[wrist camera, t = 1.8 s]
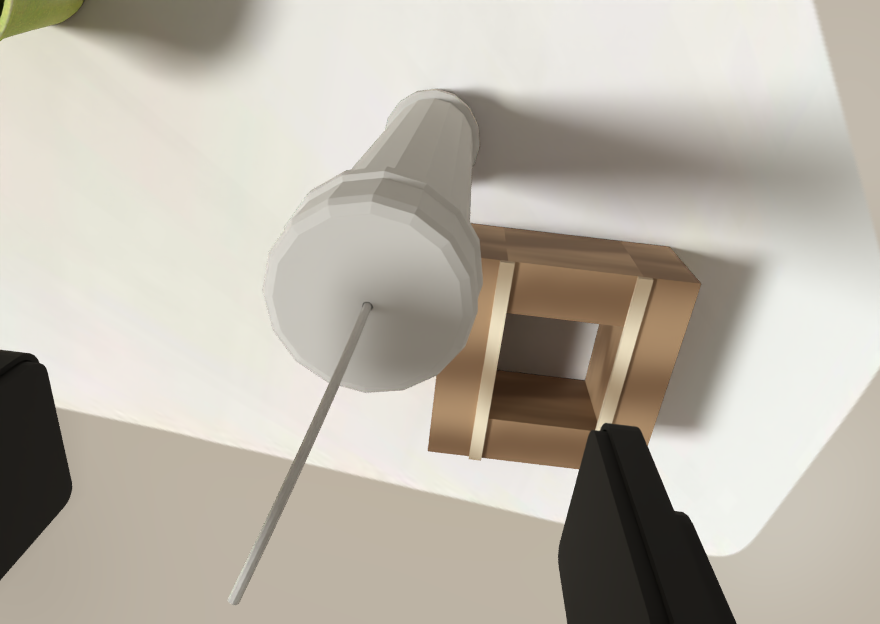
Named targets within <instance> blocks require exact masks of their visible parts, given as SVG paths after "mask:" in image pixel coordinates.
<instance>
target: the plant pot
mask: <svg viewBox="0 0 880 624" xmlns="http://www.w3.org/2000/svg"><path fill="white" fill-rule="evenodd" d="M83 1H84V0H0V41H1V40H2V39H4V38H7V37H10V36H13V35H17V34H20V33H24V32H27V31H31V30H35V29H39V28H43V27H47V26H50V25H54V24H58V23H61V22H63V21H65V20H66V19H68V18H69V17H71V16H72V15H73V14H74V13H76V12H77V11H78V10H79V8H80V7H81V5H82V3H83Z"/></svg>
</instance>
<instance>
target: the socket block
mask: <svg viewBox="0 0 880 624" xmlns="http://www.w3.org/2000/svg"><path fill="white" fill-rule="evenodd" d="M471 225H472V227H473V229H474V230H475V232H476V234H477V236H478V238H479V240H480V251H481V263H482V274H483V285H482V288H481V291H480V294H479V297H478V312H477V315H476V318H475V320H474V323H473V326H472V329H471V332H470V334H469V337H468V340H467V343H466V346H465V347H464V348H463V349H462V350H461V351H460V352H459V353H458V354H457V355H456V357H455V358H454V359H453V360H452V361H451V362H450V363H449V364H448V365H447V366H446V367H445V368H444V369H443V370H442V371H441V372H440V373H439V374H438V375H437V377H436V385H435V393H434V402H433V410H432V419H431V428H430V436H429V445H428V451H431V452H439V453H447V454H456V455H464V456H469V459H472V460H481V458H489V459H497V460H506V461H514V462H522V463H531V464H539V465H548V466H556V467H564V468H573V469H580V465H581V461H582V457H583V454H584V450H585V446H586V442H587V439H588V435H589V433H590V431H591V430H597V431H600V429H601V427H602V425H603V424H604V423H611V424H619V425H628V426H636V427H638V428H640V430H641V432H642V434H643V436H644V439H645V441H646V444H647V446H648V443H649V440H650V437H651V434H652V431H653V428H654V425H655V422H656V419H657V416H658V413H659V410H660V407H661V404H662V401H663V398H664V395H665V392H666V389H667V386H668V383H669V380H670V377H671V374H672V371H673V368H674V365H675V362H676V359H677V356H678V353H679V350H680V347H681V344H682V341H683V338H684V335H685V332H686V329H687V326H688V323H689V320H690V317H691V314H692V311H693V308H694V305H695V302H696V298H697V295H698V292H699V289H700V286H701V283H700V282H699V280H698V279H697V278H696V277H695V276H694V275H693V273H692V272H691V271H690V270H689V269H688V268H687V267H686V265H685V264H684V263H683V262H682V261H681V260H680V258H679V257H678V256H677V255H676V254H675V253H674V251H673V250H672V249H671V248H670V247H666V246H658V245H649V244H641V243H632V242H624V241H615V240H607V239H598V238H590V237H581V236H573V235H564V234H556V233H547V232H539V231H530V230H522V229H513V228H505V227H496V226H488V225H479V224H471ZM506 313H511V314H520V315H528V316H537V317H545V318H553V319H562V320H570V321H579V322H587V323H596V324H599V327H598V331H597V335H596V339H595V343H594V347H593V351H592V355H591V359H590V363H589V367H588V371H587V375H586V378H585V381H584V380H575V379H567V378H559V377H550V376H542V375H533V374H525V373H517V372H508V371H500V370H497V364H498V359H499V353H500V347H501V341H502V335H503V330H504V324H505V318H506Z"/></svg>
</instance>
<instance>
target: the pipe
mask: <svg viewBox="0 0 880 624" xmlns="http://www.w3.org/2000/svg"><path fill="white" fill-rule="evenodd" d="M479 148H480V139H479V127H478V123H477V122H476V120H475V118H474V116H473V114H472V112H471V110H470V108H469V106H468V105H467V104H466V103H464V102H463V101H462V100H461V99H460V98H459V97H457V96H456V95H455V94H453V93H450V92H447V91H443V90H440V89H431V90H422V91H417V92H415V93H413V94H411V95H410V96H408V97H406V98H405V99H403V100H401V101H400V102H399V103H398V105H397V106H396V107H395V109H394V110H393V112H392V113H391V114H390V116H389V117H388V119H387V124H386V128H385V131H384V132H383V133H382V134H381V135H380V137H379V138H378V139H377V140H376V141H375V142H374V144H373V145H372V146H371V147H370V148H369V149H368V150H367V152H366V153H365V154H364V155H363V156H362V157H361V159H360V160H359V161H358V162H357V163H356V164H355V165H354V167H353V168H352V169H351V170H346V171H344V172H342V173H341V174H339V175H337V176H335V177H334V178H332V179H330V180H328V181H327V182H325V183H323V184H321V185H320V186H318V187H316V188H314V189H313V190H311V191H310V192H309V193H308V194H307V195H306V197H305V198H304V200H303V201H302V202H301V204H300V205H299V207H298V208H297V209H296V211H295V212H294V214H293V215H292V217H291V218H290V219H289V221H288V222H287V224H286V225H285V227H284V231H283V232H282V233H281V235H280V236H279V238H278V239H277V241H276V242H275V243H274V245H273V246H272V248H271V249H270V250H269V253H268V259H267V265H266V271H265V277H264V283H263V295H264V299H265V302H266V306H267V310H268V314H269V317H270V321H271V325H272V329H273V331H274V332H275V334H276V335H277V336H278V338H279V339H280V341H281V342H282V343H283V345H284V346H285V347H286V349H287V350H288V351H289V353H290V354H291V355H292V357H293V358H294V359H295V361H296V362H298V363H299V364H301V365H302V366H304V367H305V368H307V369H308V370H310V371H311V372H313V373H314V374H316V375H317V376H319V377H320V378H322V379H323V380H325V381H326V382H328V383H329V385H328V387H327V389H326V392H325V394H324V396H323V398H322V400H321V403H320V405H319V407H318V409H317V411H316V414H315V416H314V418H313V420H312V422H311V425H310V427H309V429H308V431H307V433H306V435H305V438H304V440H303V442H302V444H301V446H300V448H299V451H298V453H297V455H296V457H295V459H294V461H293V464H292V466H291V468H290V470H289V472H288V474H287V476H286V479H285V481H284V483H283V485H282V487H281V489H280V491H279V493H278V496H277V498H276V500H275V502H274V504H273V506H272V508H271V510H270V513H269V515H268V517H267V519H266V521H265V523H264V525H263V527H262V529H261V532H260V533H259V536H258V538H257V540H256V542H255V544H254V546H253V548H252V550H251V552H250V554H249V557H248V559H247V561H246V563H245V565H244V567H243V569H242V571H241V573H240V575H239V577H238V579H237V581H236V584H235V586H234V588H233V590H232V592H231V594H230V596H229V598H228V602H229V603H231V604H232V605H237V604H239V602H240V600H241V598H242V596H243V594H244V591H245V590H246V588H247V585H248V583H249V581H250V579H251V577H252V575H253V573H254V571H255V568H256V567H257V564H258V562H259V560H260V558H261V556H262V554H263V552H264V550H265V548H266V546H267V544H268V541H269V539H270V537H271V535H272V533H273V531H274V529H275V526H276V524H277V522H278V520H279V518H280V516H281V514H282V512H283V509H284V507H285V505H286V503H287V501H288V499H289V496H290V494H291V492H292V490H293V488H294V486H295V484H296V481H297V479H298V477H299V475H300V473H301V470H302V468H303V466H304V464H305V462H306V459H307V457H308V455H309V453H310V451H311V448H312V446H313V444H314V442H315V440H316V437H317V435H318V433H319V431H320V428H321V426H322V424H323V422H324V419H325V417H326V415H327V413H328V410H329V408H330V406H331V404H332V401H333V399H334V397H335V395H336V392H337V390H338V388H339V386H343V387H346V388H350V389H354V390H357V391H361V392H365V393H368V392H384V391H400V390H405V389H407V388H409V387H412V386H414V385H416V384H418V383H421V382H423V381H425V380H427V379H430V378H432V377H434V376H437V375H438V374H439V373H440V372H441V371H442V370H443V369H444V368H445V367H446V366H447V365H448V364H449V363H450V362H451V361H452V360H453V359H454V358H455V357H456V355H457V354H458V353H459V352H460V351H461V350H462V349H463V348H464V347H465V346H466V343H467V340H468V337H469V334H470V332H471V329H472V326H473V323H474V320H475V318H476V315H477V312H478V297H479V294H480V291H481V288H482V285H483V274H482V263H481V251H480V240H479V238H478V236H477V234H476V232H475V230H474V229H473V227H472V225H471V223H470V205H471V178H472V167H473V165H474V164H475V161H476V157H477V154H478V151H479Z"/></svg>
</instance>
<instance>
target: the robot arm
mask: <svg viewBox="0 0 880 624" xmlns="http://www.w3.org/2000/svg"><path fill="white" fill-rule="evenodd" d="M71 491H72V481H71V476H70V472H69V467H68V463H67V458H66V454H65V449H64V445H63V440H62V435H61V431H60V426H59V422H58V418H57V413H56V408H55V404H54V399H53V395H52V390H51V386H50V381H49V376H48V372H47V369H46V367H45V366H44V365H43V364H40V363H39V361H38V359H37V358H36V357H35V356H34V355H32V354H30V353H22V352H14V351H6V350H0V580H1V579H2V578H3V576H4V575H5V574H6V573H7V572H8V571H9V569H10V568H11V567H12V566H13V565H14V564H15V563H16V562H17V560H18V559H19V558H20V557H21V556H22V555H23V553H24V552H25V551H26V550H27V549H28V548H29V547H30V545H31V544H32V543H33V542H34V541H35V540H36V538H37V537H38V536H39V535H40V534H41V533H42V532H43V530H44V529H45V528H46V527H47V526H48V525H49V524H50V523H51V521H52V520H53V519H54V518H55V517H56V516H57V515H58V513H59V512H60V511H61V510H62V509H63V508H64V506H65V505H66V504H67V502H68V500H69V498H70V495H71ZM558 563H559V571H560V578H561V585H562V591H563V598H564V604H565V611H566V617H567V624H736V621H735V619H734V617H733V614H732V612H731V610H730V608H729V605H728V603H727V601H726V598H725V596H724V594H723V592H722V589H721V587H720V585H719V582H718V580H717V578H716V576H715V573H714V571H713V569H712V566H711V564H710V562H709V560H708V557H707V555H706V553H705V550H704V548H703V546H702V544H701V541H700V539H699V537H698V535H697V532H696V530H695V528H694V525H693V523H692V522H691V520H690V518H689V517H688V516H687V515H686V514H685V513H684V512H678V511H674V509H673V507H672V505H671V502H670V500H669V497H668V495H667V492H666V490H665V487H664V485H663V483H662V480H661V478H660V475H659V473H658V470H657V468H656V466H655V463H654V461H653V458H652V456H651V453H650V451H649V449H648V446H647V444H646V441H645V439H644V436H643V434H642V432H641V430H640V428H638V427H636V426H628V425H619V424H611V423H604V424H603V425H602V427H601V429H600V431H597V430H591V431H590V433H589V435H588V439H587V442H586V446H585V450H584V454H583V457H582V461H581V465H580V469H579V472H578V476H577V480H576V484H575V488H574V491H573V495H572V499H571V503H570V506H569V510H568V514H567V518H566V521H565V525H564V529H563V533H562V537H561V540H560V545H559V554H558Z"/></svg>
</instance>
